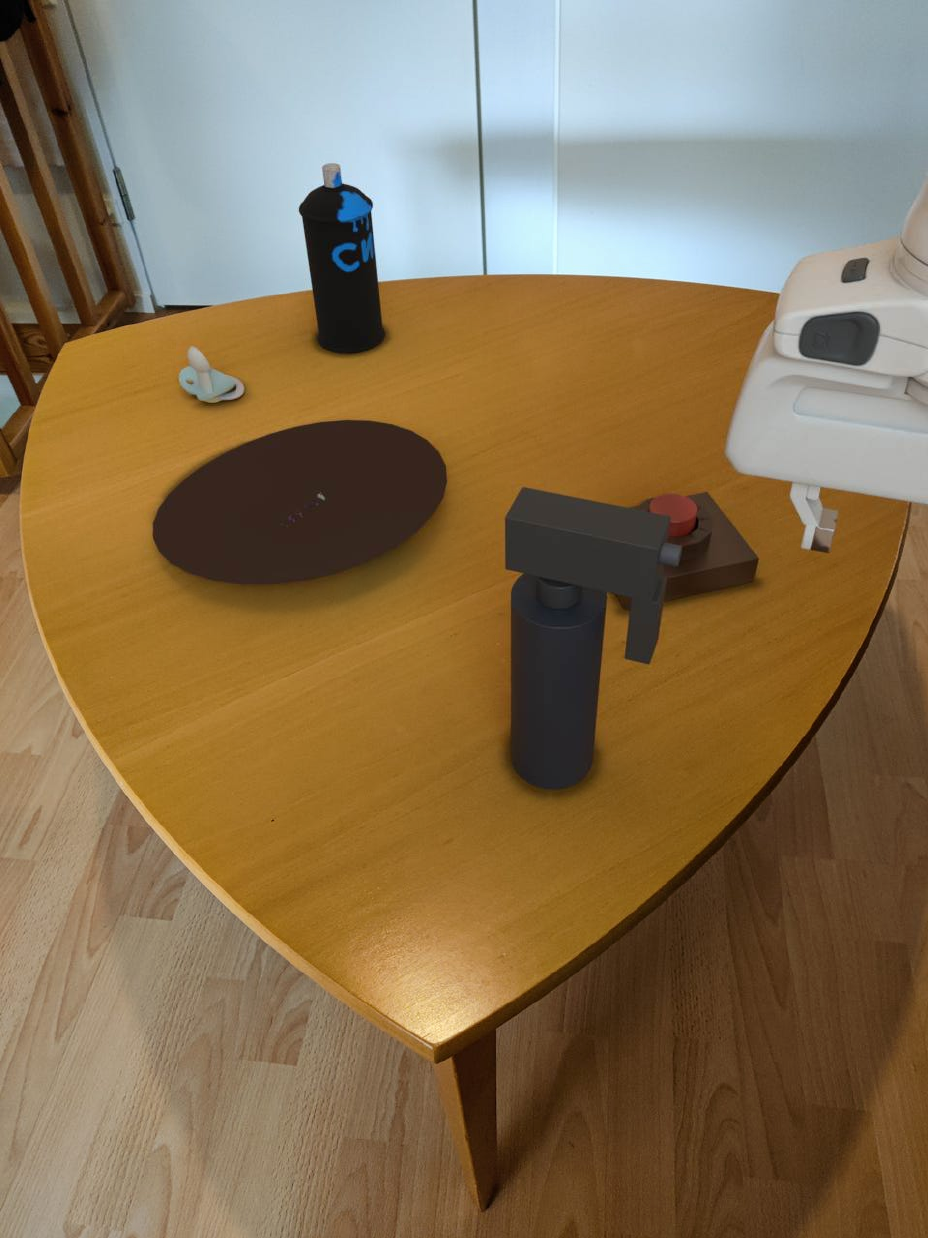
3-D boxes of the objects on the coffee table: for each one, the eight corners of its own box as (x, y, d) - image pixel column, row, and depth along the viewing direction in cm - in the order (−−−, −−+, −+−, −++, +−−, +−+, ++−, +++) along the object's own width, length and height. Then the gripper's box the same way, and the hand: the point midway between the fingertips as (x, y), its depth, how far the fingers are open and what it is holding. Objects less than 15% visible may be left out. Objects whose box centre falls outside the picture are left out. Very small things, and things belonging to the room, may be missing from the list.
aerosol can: (303, 342, 120) (276, 171, 106) (347, 315, 125) (326, 147, 111) (356, 360, 117) (335, 185, 103) (399, 331, 121) (384, 160, 108)
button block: (703, 514, 93) (710, 475, 90) (754, 582, 86) (763, 541, 83) (582, 539, 91) (585, 499, 88) (624, 610, 84) (628, 570, 81)
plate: (294, 404, 110) (289, 375, 107) (505, 487, 97) (505, 455, 95) (92, 538, 94) (80, 507, 91) (314, 657, 81) (308, 625, 79)
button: (682, 506, 88) (685, 489, 86) (702, 533, 85) (705, 516, 84) (640, 514, 87) (642, 498, 86) (658, 542, 84) (661, 525, 83)
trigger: (658, 639, 63) (667, 577, 60) (649, 665, 62) (658, 603, 58) (633, 633, 64) (641, 572, 60) (624, 659, 62) (631, 597, 58)
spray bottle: (655, 751, 73) (693, 504, 58) (635, 815, 69) (670, 568, 54) (525, 716, 76) (529, 473, 60) (499, 776, 72) (496, 531, 56)
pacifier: (220, 373, 116) (175, 391, 113) (210, 322, 111) (164, 340, 108) (257, 396, 112) (211, 415, 109) (248, 344, 108) (201, 363, 104)
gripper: (1267, 308, 41) (1131, 563, 51) (763, 256, 47) (725, 493, 57) (1296, 383, 37) (1142, 647, 46) (739, 315, 43) (703, 560, 53)
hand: (910, 561), depth 52 cm, fingers open, 8 cm apart
